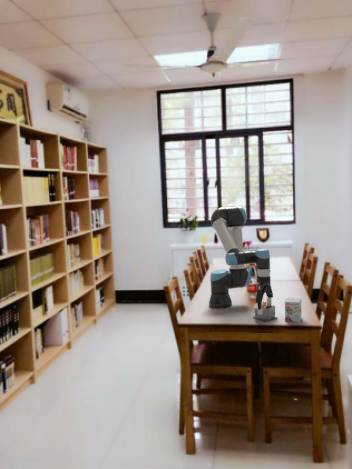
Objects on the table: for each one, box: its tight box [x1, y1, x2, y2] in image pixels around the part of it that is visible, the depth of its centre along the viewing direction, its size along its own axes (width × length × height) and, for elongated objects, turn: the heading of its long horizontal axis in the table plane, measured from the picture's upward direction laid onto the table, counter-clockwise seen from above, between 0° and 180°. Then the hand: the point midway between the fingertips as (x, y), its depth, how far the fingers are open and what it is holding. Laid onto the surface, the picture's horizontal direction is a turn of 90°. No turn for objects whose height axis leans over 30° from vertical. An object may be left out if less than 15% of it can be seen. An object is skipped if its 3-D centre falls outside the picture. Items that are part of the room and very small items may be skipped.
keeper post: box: [252, 301, 278, 323], centre depth 257 cm, size 10×10×10 cm
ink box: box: [284, 297, 302, 323], centre depth 251 cm, size 9×9×12 cm
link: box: [254, 304, 276, 321], centre depth 257 cm, size 9×9×6 cm
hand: (264, 311), depth 257 cm, fingers open, 13 cm apart
